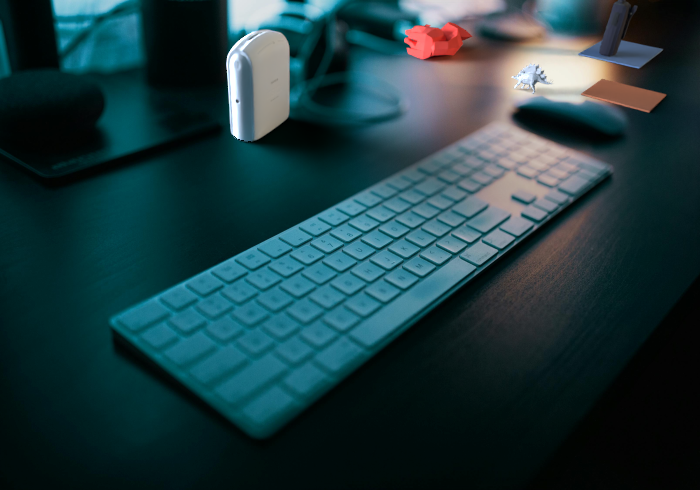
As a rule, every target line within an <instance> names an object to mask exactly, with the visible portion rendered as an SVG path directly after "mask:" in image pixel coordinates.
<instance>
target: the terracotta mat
mask: <svg viewBox="0 0 700 490" xmlns="http://www.w3.org/2000/svg"><path fill="white" fill-rule="evenodd" d="M580 95H581V96H584V97H588V98H592V99H596V100H599V101H603V102H607V103H611V104H615V105H618V106H622V107H626V108H629V109H634V110H638V111H641V112H644V113H648V114H649V113H651V112H652V111H653V110H654V109H655V107H656V106H658V105H659V103H661V102H662V100H664V99H665V97H666V96H667V94H666V93H662V92H658V91H654V90H651V89H650V90H649V89H645V88H643V87H642V88H641V87H637V86H633V85H630V84H625V83H621V82H617V81H613V80H609V79H605V78H601V79H600V80H598V81H597V82H595V83H594V84H593V85H591V86H590V87H588V88H587V89H585V90H584V91H582V92H581V93H580Z"/></svg>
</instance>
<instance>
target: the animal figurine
mask: <svg viewBox="0 0 700 490" xmlns="http://www.w3.org/2000/svg"><path fill="white" fill-rule="evenodd" d="M404 32H405V35H406V36H407V37H405V38H404V43H405V44H407V45H409V47H406V51H407V54H408V55H410V56H413V57H415V58H417V59H420V60H426V59H429V58H432V57H434V56H455V55H456V54H457V53H458V51H459V50H460V49H461V47H462V46H463V45H464V42H463V41H467V40H468V39H470V38H473V35H472V34H471V33H470V32H468V31H467V29H465V28H463V27H462V26H460V25H458V24H456V23H454V22H450V21H448V22H447V23H446V24H445V25H443V26H442V27H441V28H440V27H434V26H432V25H431V24H427V23H426V24H425V25H422V24H421V25H414V26H413V27H411V28H409V29H405V30H404Z"/></svg>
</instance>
